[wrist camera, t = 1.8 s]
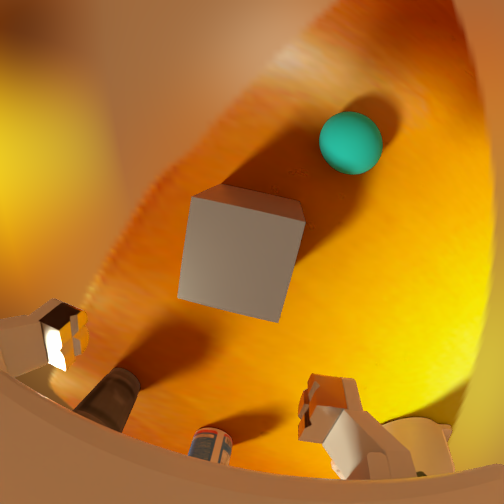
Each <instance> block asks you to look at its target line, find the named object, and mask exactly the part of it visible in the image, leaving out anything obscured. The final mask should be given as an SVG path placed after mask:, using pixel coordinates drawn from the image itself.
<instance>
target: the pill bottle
mask: <svg viewBox="0 0 504 504" xmlns="http://www.w3.org/2000/svg"><path fill="white" fill-rule="evenodd" d="M232 444H233V442H232V439H231V437H230V436H229V435H228V434H227V433H226V432H224V431H222V430H220V429H216V428H202V429H199V430H198V431H196V433H195V435H194V437H193V441H192V444H191V447H190V450H189V453H188V456H191V457H195V458H199V459H203V460H206V461H211V462H215V463H219V464H224V465H228V466H229V460H230V455H231V450H232Z"/></svg>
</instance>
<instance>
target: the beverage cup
mask: <svg viewBox="0 0 504 504" xmlns="http://www.w3.org/2000/svg"><path fill="white" fill-rule="evenodd" d="M139 390H140V383H139V381H138V379H137V378H136V376H135V375H133V374H132V373H131V372H129V371H128V370H126V369H123V368H114V369H112V370H111V372H110V373H109V374H107V375H106V376H105V377H104V378H103V379H102V380H101V381H100V382H99V383H98V384H97V385H96V386H95V388H94V389H93V390H92V391H91V392H90V393H89V394H88V395H87V396H86V397H85V398H84V399H83V400H82V401H81V402H80V403H79V405H78V406H77V407H76V408H75V409H74V410H72V411H73V412H75V413H77V414H79V415H81V416H83V417H85V418H87V419H90V420H92V421H94V422H96V423H98V424H101V425H103V426H105V427H108V428H110V429H112V430H115V431H117V432H120V433H122V431H123V428H124V426H125V424H126V421H127V419H128V417H129V414H130V412H131V410H132V408H133V405H134V403H135V401H136V398H137V395H138V392H139Z"/></svg>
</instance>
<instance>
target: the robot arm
mask: <svg viewBox="0 0 504 504" xmlns="http://www.w3.org/2000/svg"><path fill="white" fill-rule="evenodd" d="M87 322H88V319H87V313H86V312H85V311H83V310H81V309H79V308H76V307H74V306H72V305H69V304H67V303H64V302H62V301H59V300H57V299H51V300H49V301H48V302H47V303H45V304H44V305H42V306H41V307H40V308H38V309H37V310H36V311H34V312H33V313H31V314H30V315H29V316H27V315H22V316H16V317H11V318H5V319H0V504H504V465H502V464H493V465H488V466H484V467H479V468H474V469H470V470H464V471H459V472H454V471H455V467H454V464H453V460H452V457H451V454H450V450H449V447H448V444H447V442H448V440H449V438H450V435H451V433H452V428H451V426H450V425H448V424H437V423H435V422H434V421H432V420H431V419H428V418H423V417H410V418H404V419H399V420H395V421H392V422H389V423H386V424H384V425H381V424H380V423H379V422H378V421H377V420H375V419H374V418H373V417H372V416H371V415H370V414H369V413H368V412H367V411H363V409H362V405H361V401H360V397H359V393H358V389H357V385H356V381H355V380H354V379H352V378H343V377H340V378H339V377H333V376H326V375H320V374H314V373H312V374H311V376H310V378H309V380H308V389H306V390H304V391H303V394H302V396H301V399H300V403H299V408H298V417H299V418H300V419H301V421H300V423H299V425H298V440H300V441H307V442H314V443H322V445H323V447H324V448H325V450H326V451H327V453H328V454H329V455H330V457H331V458H332V461H331V465H332V469H333V470H334V471H335V472H336V473H337V475H338V476H339V477H340V478H341V479H322V478H309V477H298V476H289V475H281V474H273V473H267V472H260V471H254V470H249V469H243V468H238V467H233V466H228V465H224V464H219V463H215V462H211V461H206V460H203V459H199V458H195V457H191V456H188V455H184V454H181V453H177V452H174V451H171V450H167V449H164V448H161V447H158V446H155V445H152V444H149V443H146V442H144V441H141V440H138V439H135V438H133V437H130V436H127V435H125V434H122V433H120V432H117V431H115V430H112V429H110V428H108V427H105V426H103V425H101V424H98V423H96V422H94V421H92V420H90V419H87V418H85V417H83V416H81V415H79V414H77V413H75V412H73V411H71V410H69V409H67V408H65V407H63V406H61V405H59V404H57V403H56V402H54V401H52V400H50V399H48V398H46V397H45V396H43V395H41V394H39V393H38V392H36V391H34V390H33V389H31V388H29V387H28V386H26V385H24V384H23V383H21V382H20V381H18V380H16V379H15V378H14V377H17V376H19V375H22V374H24V373H27V372H29V371H32V370H34V369H37V368H39V367H42V366H44V365H47V364H48V363H50V364H52V365H54V366H56V367H59V368H61V369H63V370H65V371H67V369H68V368H69V367H70V366H71V365H72V364H73V363H74V362H75V356H77V355H80V354H82V353H83V352H84V350H85V349H86V347H87V344H88V340H89V331H88V330H87V328H86V326H85V324H86V323H87Z"/></svg>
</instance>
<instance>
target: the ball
mask: <svg viewBox="0 0 504 504" xmlns="http://www.w3.org/2000/svg"><path fill="white" fill-rule="evenodd" d="M319 145H320V150H321V153H322V155H323V157H324V159H325V160H326V162H327V163H328V164H329V165H330V166H331V167H332V168H334V169H335V170H337V171H339V172H341V173H344V174H350V175H355V174H361V173H364V172H366V171H368V170H370V169H371V168H372V167H373V166H375V164H376V163H377V162H378V160H379V158H380V156H381V153H382V148H383V142H382V136H381V133H380V131H379V129H378V127H377V126H376V124H375V123H374V122H373V121H372V120H371V119H369V118H368V117H367V116H365V115H363V114H360V113H357V112H342V113H338V114H336V115H334V116H332V117H331V118H330V119H329V120H328V121H327V122H326V123H325V124H324V126H323V128H322V130H321V133H320V138H319Z"/></svg>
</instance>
